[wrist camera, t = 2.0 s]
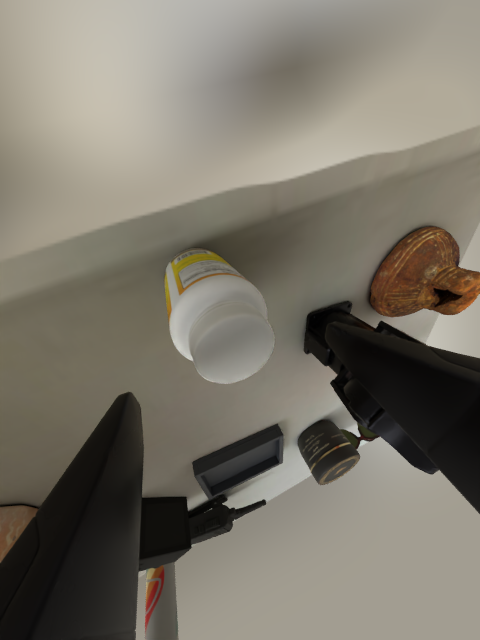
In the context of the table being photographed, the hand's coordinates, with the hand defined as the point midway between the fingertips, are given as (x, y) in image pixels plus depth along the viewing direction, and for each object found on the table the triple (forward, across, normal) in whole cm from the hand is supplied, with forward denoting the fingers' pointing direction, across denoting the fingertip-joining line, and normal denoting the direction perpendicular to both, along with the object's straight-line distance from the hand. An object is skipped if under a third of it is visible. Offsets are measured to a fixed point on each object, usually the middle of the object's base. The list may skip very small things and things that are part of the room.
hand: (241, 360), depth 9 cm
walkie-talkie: (+11, +8, +50) cm, 52 cm away
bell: (+11, -27, +6) cm, 30 cm away
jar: (+11, -17, +40) cm, 45 cm away
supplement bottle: (+11, 0, 0) cm, 11 cm away
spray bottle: (+11, +23, +61) cm, 66 cm away
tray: (+11, 0, +35) cm, 37 cm away
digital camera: (+11, +17, +38) cm, 43 cm away
